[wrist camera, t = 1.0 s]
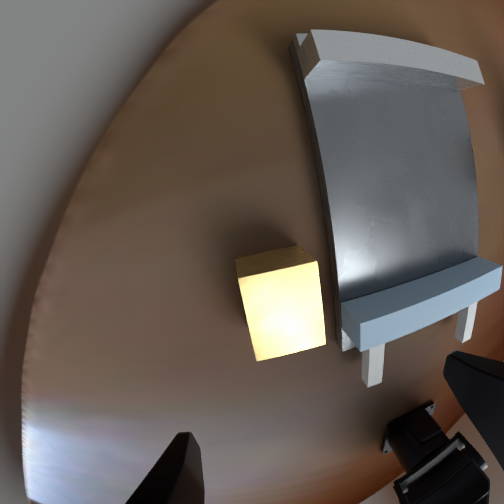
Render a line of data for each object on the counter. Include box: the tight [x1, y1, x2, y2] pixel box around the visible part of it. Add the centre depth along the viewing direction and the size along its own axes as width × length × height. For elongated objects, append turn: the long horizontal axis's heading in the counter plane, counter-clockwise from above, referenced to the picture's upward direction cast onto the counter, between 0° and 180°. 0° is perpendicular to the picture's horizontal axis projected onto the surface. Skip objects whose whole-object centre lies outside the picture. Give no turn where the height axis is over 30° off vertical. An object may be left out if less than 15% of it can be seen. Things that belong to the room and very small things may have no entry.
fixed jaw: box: [293, 30, 484, 91], centre depth 12 cm, size 3×14×3 cm, turn 101°
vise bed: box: [289, 40, 478, 351], centre depth 17 cm, size 21×14×1 cm, turn 11°
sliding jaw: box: [341, 256, 502, 387], centre depth 17 cm, size 7×14×3 cm, turn 101°
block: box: [235, 245, 326, 361], centre depth 16 cm, size 5×4×4 cm
